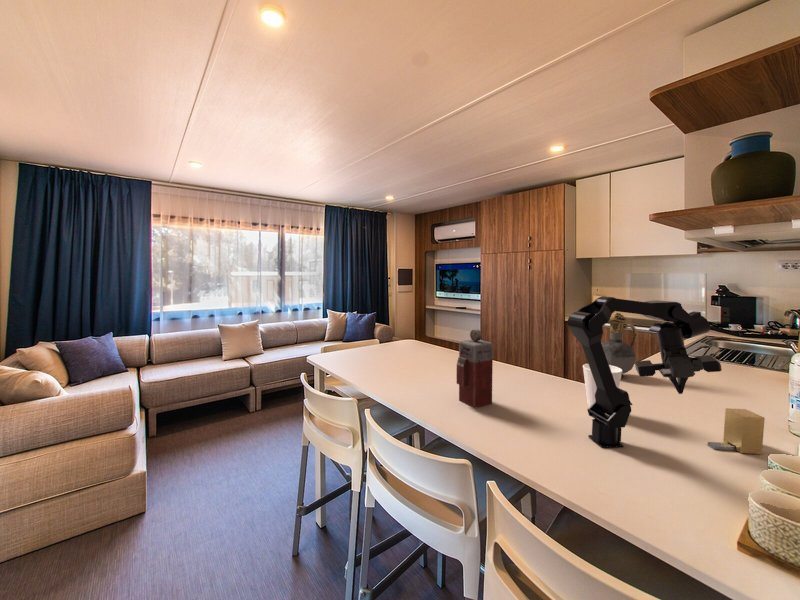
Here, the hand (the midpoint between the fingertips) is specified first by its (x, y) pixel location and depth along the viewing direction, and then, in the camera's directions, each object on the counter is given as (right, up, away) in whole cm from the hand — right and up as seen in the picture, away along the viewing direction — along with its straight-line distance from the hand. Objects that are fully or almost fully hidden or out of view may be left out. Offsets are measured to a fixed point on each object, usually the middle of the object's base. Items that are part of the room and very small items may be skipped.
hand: (680, 393), depth 97 cm
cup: (-12, -12, +19) cm, 26 cm away
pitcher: (+21, -9, +60) cm, 64 cm away
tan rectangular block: (+12, -14, -6) cm, 19 cm away
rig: (+11, -13, -3) cm, 18 cm away
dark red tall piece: (-55, -12, +29) cm, 63 cm away
